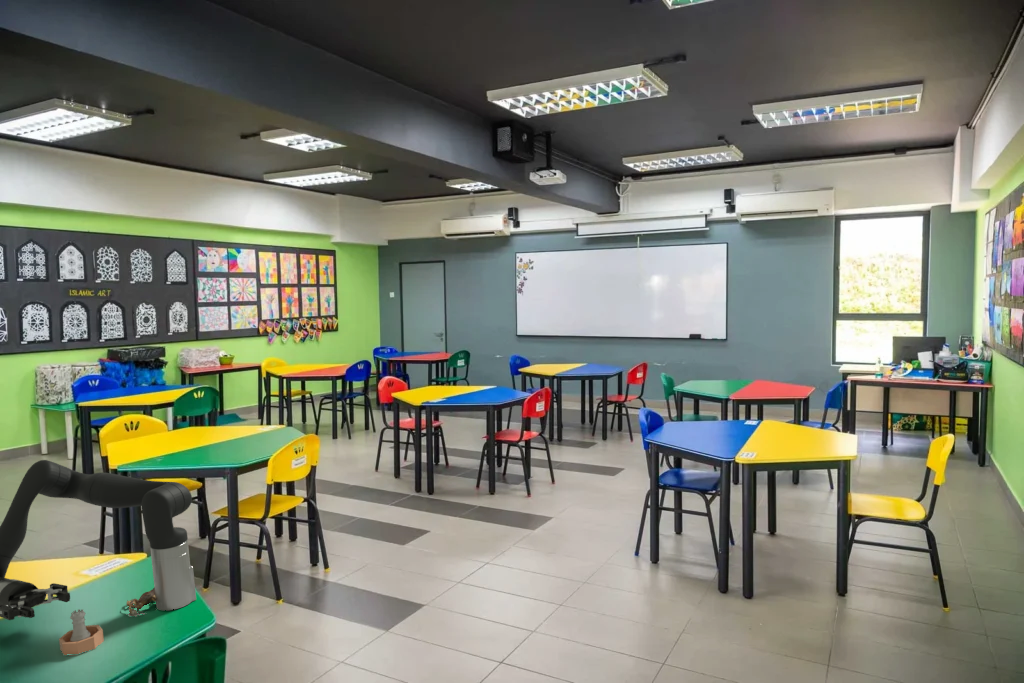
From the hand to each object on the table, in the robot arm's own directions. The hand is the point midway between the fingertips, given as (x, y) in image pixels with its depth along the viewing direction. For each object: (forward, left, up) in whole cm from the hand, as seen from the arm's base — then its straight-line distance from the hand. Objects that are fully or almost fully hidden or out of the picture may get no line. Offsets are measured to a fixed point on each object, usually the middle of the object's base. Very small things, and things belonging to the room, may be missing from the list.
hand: (51, 605), depth 169 cm
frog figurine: (-21, -1, -9) cm, 23 cm away
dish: (-4, +10, -8) cm, 14 cm away
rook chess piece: (-4, +10, -8) cm, 13 cm away
